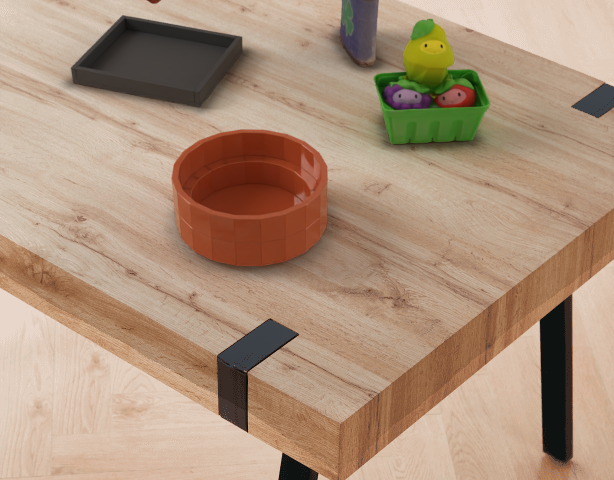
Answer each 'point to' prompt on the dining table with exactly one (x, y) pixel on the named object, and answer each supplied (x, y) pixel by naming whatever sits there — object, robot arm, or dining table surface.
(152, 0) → the onion
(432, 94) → the fruit basket
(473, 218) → the dining table surface
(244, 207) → the bowl
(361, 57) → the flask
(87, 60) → the tray
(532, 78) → the dining table surface
